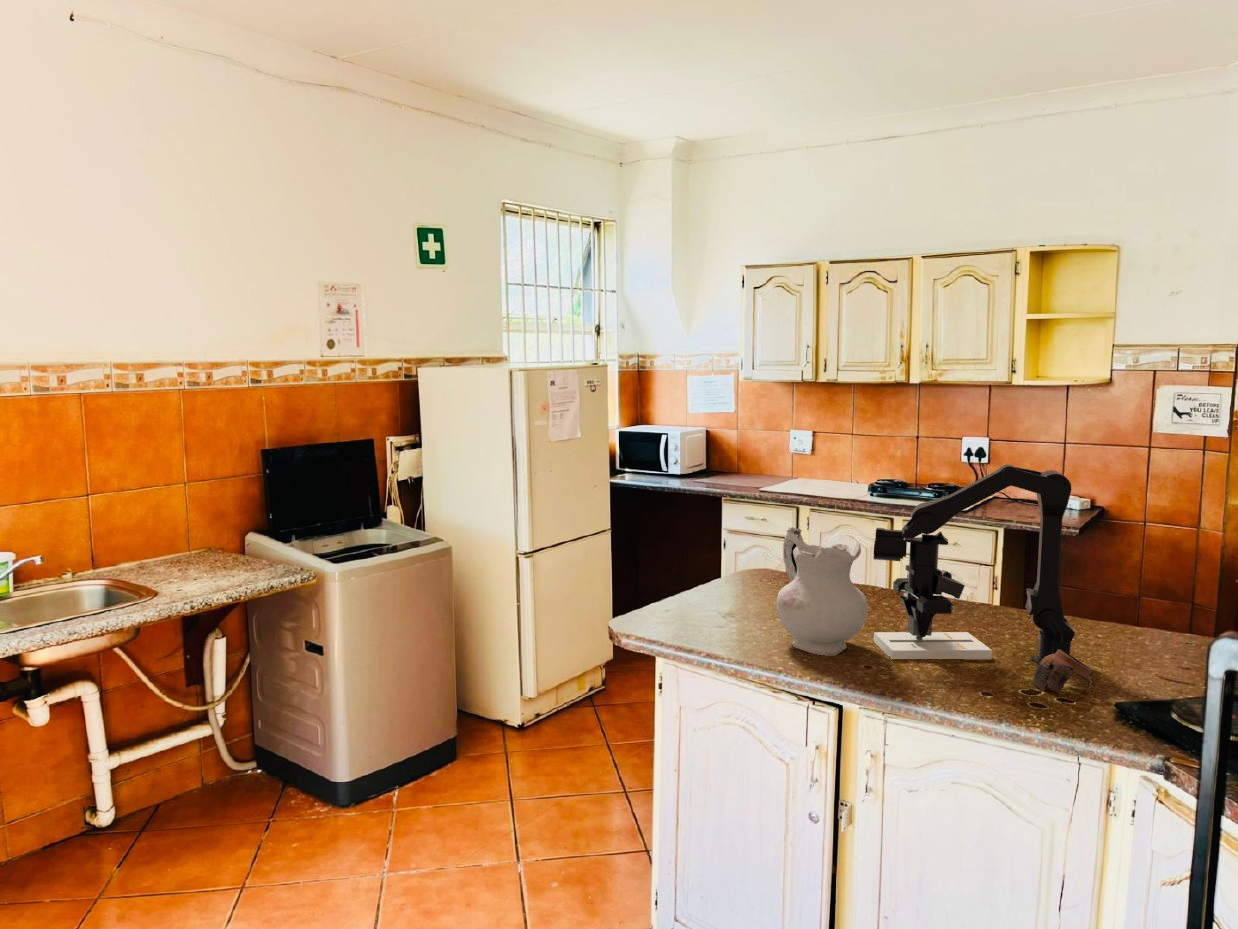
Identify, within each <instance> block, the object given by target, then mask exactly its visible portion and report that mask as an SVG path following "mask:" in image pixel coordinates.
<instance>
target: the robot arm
mask: <svg viewBox="0 0 1238 929" xmlns="http://www.w3.org/2000/svg"><path fill="white" fill-rule="evenodd" d="M1009 487H1015V488H1018V489H1021V490H1025V491H1028V492H1031V493H1035V494H1036V498H1037V503H1038V509H1039V514H1040V521H1039V522H1040V523H1039V537H1038V538H1039V539H1038V554H1037V555H1038V558H1037V559H1038V560H1037V572H1036V573H1037V575H1036V582H1035V584H1034V587H1033V589H1032V588H1026V595H1027V600H1026V604H1025V606H1024V607H1025V608H1026V611H1027V614H1028V615H1029V616H1031V619H1032V621H1033V623H1034V625H1035V626H1036V627H1037V628H1038V629H1040V630H1039V637H1038V653H1037V655H1031V656H1030V659H1031V660H1032V661H1034V662H1035V663H1037V664H1038V665H1039V663H1040V662H1041V661H1042V659H1044V657H1046V656H1048V655H1051V654H1055V653H1056V652H1057V650H1058V649H1059V650H1062V651H1064V652H1066V653H1067V654H1069V655H1071V645H1072V643H1071V642H1072V641H1073V639H1074V637H1075V635H1076V632H1075V630H1074V629H1073V627H1072V626H1071V623H1070V622H1069V620H1068V619H1067V618H1066V617H1065V616H1064V615H1065V614H1064V609H1063V602H1062V601H1063V600H1062V597H1061V596H1062V595H1061V590H1060V587H1059V584H1060V583H1059V581H1060V567H1061V566H1060V564H1061V563H1060V562H1061V549H1062V529H1063V518H1064V515H1065V513H1066V511H1067V508H1068V505H1069V500H1070V497H1071V493H1072V484H1071V481H1070V480H1069V479H1068V478H1067V477H1066V476H1065V475H1064V474H1062V473H1061V472H1059V471H1057V470H1051V469H1049V470H1045V471H1043V472H1041V471H1037V470H1032V469H1028V468H1022V467H1017V466H1014V464H1013V465H1012V464H1004V465H1001V466H1000V467H999V468H998V469H996V470H995V471H992V472H991V473H989V474H987V475H985V476H983V477H981V478H979V479H978V480H975V481H974V482H971V483H970V484H968V485H966V486H964V487H962V488H960V489H958V490H956V491H954V492H953V493H951V494H949V495H946V496H941V497H937V498H933V499H931V500H928V501H925V502H922V503H919V504H917V505H916V506H915V507H914V508H913V510H912V512H911V518H910V519H909V520H908V521H907V522H906V523H905V524H903V527H902V528H901V530H900V529H887V528H883V527H877V528H876V529H875V539H874V544H873V560H877V561H891V562H901V559H902V560H904V558H906V557H907V549H908V548H907V546H908V544H907V543H909V560H908V561H909V562H908V564H906V565H905V570H906V571H907V572H908V578H907V577H902V578H901V577H898V578H896V579H895V580H894V581H893V584H892V591H893V592H895V593H896V594H900V593H901V591H902V592H903V596H899V599H900V601H901V603H902V605H903V607H904V610H905V612H906V614H907V617H908V616H909V615H914V618H915V622H916V625H917V629H918V632H919V636H920V637H925V636H926V634H927V631H928V629H929V626H930V624H931V621H932V622H933V618H934V617H935V615H937V614H938V615H939V614H940V615H945V614H946V615H950V614H951V615H952V614H953V612H954V611H953V607H954V605H953V603H952V601H951V600H950V599H948V598H947V597H945V596H943V594H947V595H950V596H951V597H954V598H955V599H957V600H959V599H960V598H961V596H962V593H963V591H964V589H965V586H966V585H965V584H963V583H962V582H960V581H958V580H956V579H954V578H953V577H952V576H953V575H952V573H951V572H950V571H947V570H943V569H942V570H941V569H939V568H938V566H939V564H938V563H939V546H940V545H943V546H945V545H946V546H948V545H949V540H948V538H947V537H946V536H944V534H943V532H942V531H938V530H939V529H940V528H942V527H943V526H944V525H946V524H947V523H948V522H949V521H951V519H952V518H953V517H954V516H957V514H959V513H960V512H963V511H964V510H966V509H968V508H969V507H972V506H974V505H976V504H977V503H979V502H982V501H984V500H986V499H988V498H990V497H991V496H993V495H995V494H997V493H999V492H1001V491H1003V490H1005V489H1007V488H1009ZM936 531H938V533H935V532H936ZM934 533H935V534H934ZM920 535H921V536H920ZM919 536H920V537H919ZM1050 670H1053V665H1052V666H1051V668H1050Z"/></svg>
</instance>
